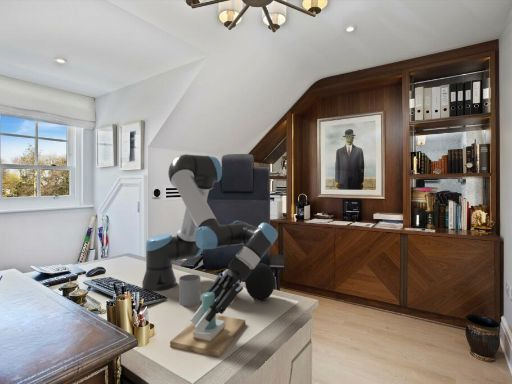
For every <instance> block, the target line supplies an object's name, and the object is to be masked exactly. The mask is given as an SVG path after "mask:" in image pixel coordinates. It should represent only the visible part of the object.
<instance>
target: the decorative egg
mask: <svg viewBox="0 0 512 384" xmlns="http://www.w3.org/2000/svg"><path fill="white" fill-rule="evenodd" d="M251 270H252V271H251V274H250V275H249V276H248V278H247V279H246V280H244V282H245V289H246V292H247V293H248V295H249V296H250V297H251V298H252V299H253V300H255V301H265V300H266V299H268V298H270V297H271V295H272V293H274V290H275V286H276V279H275V278H276V277H275V274H274V272H273V270H272V268H271V267H270V266H269V265H268V264H265V263H263V262H259V263H258V264H257V265H256V267H255V268H254V269H251Z"/></svg>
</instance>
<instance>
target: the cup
mask: <svg viewBox="0 0 512 384" xmlns="http://www.w3.org/2000/svg"><path fill="white" fill-rule="evenodd" d="M178 282H179V283H178V285H179V286H178V287H179V288H178V289H179V290H178V293H179V295H178V296H179V297H178V299H179V301H178V302H179V305H180V306H183V307H193V306H197V305H200V303H202V298H201V276H200V275H199V274H191V273H190V274H184V275H182V276H180V277H179V278H178Z"/></svg>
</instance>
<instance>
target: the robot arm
mask: <svg viewBox="0 0 512 384" xmlns="http://www.w3.org/2000/svg"><path fill="white" fill-rule="evenodd" d="M167 175H168V179H169V182H170V184H171V186H172V187H174V188H175V189H176V190H177V192H178V193H179V196H180V198H181V199H182V202H183V203H184V206H185V211H184V215H183V220H182V224H181V228H180V229H178V230H177V233H176V235H175V236H173V235H172V234H170V233H165V234H156V235H154V236H151V237H149V238H148V239H147V240H146V243H145V244H146V245H145V260H146V262H145V265H146V266H145V267H146V269H145V272H144V275H143V280H142V283H141V284H142V285H141V286H142V289H143V288H144V289H143V290H145V289H147V290H146V291H149V290H150V292H151V291H152V292H159V291H164V290H165V291H166V290H169V289H172V288H174V287H175V286H176V285H177V279H176V276H175V273H174V270H173V262H176V261H182V260H183V261H184V260H188V259H194V258H197V257H199V256H200V255H201V254H202V253H203V250H214V249H218V248H224V247H231V246H238V245H243V246H241V248H240V249H239V250H238V252H237V253H236V254H235V256H236V257H233V258H232V259H231V260H230V262H229V263H228V265H227V267H228V269H229V270H228V271H227V272H226V273H225V274H222V273H223V272H219V273H218V275H217V277H216V278H215V280H214V281H213V283H212V284H211V285H210V287H209V288H208V289H207V291H206V292H213V293H215V303H214V305H213V306H210V307H209V309H208V310H207V311H206V313H205V314H204V315H203V313H202V304H200V306H199V307H198V308H197V310H195V311H196V312H195V313H194V314H193V315H192V316H191V318H190V319H189V321H190V323H194V324H195V325H196V326H195V327H196V328H197V329H198V330H200V331H201V332H203V330H204V329H205V328H206V326H207V325H208V324H209V322H210V321H211V320H212V319H213V318H214V316H215V315H217V314H221V315H223V314H224V313H225V311H226V310H227V308H228V307H229V306H230V305H231V304H230V303H231V302H232V301H233V299H234V298H235V297H236V296H237V297H238V294H239V293H240V292H242V291H243V290H244V287H243V286H242V285H241V283H242V281H243V280H244V281H245V280H246V279H247V278H248V276H249V275H250V274H251V271H252V270H251V269H254V268H255V267H256V265H257V264H258V263H260V261H261V260H262V259H263V257H264V256H265V255H266V254H267V252H268V251H269V250H270V248H271V247H272V246H273V245H274V243H275V242H276V240H277V238H278V236H279V234H278V231H277V230H276V228H274V227H273V226H272V225H271V224H269V223H267V222H261V223H260V224H259V225H258V226H255V225H252V224H250V223H247V222H245V221H242V220H234V221H233V222H231V223H230V224H220V222H219V221H218V219H217V217H216V216H215V214H214V213H213V210H212V209H211V207H210V206H209V204H208V202H207V201H208V196H209V192H210V190H212V189H214V185H215V183H218V182H220V181H221V180H222V176H223V168H222V164H221V162H220V160H219V158H217V157H215V156H211V155H198V154H196V155H195V154H187V153H185V154H180V155H179V156H176V157H175V158H174V159H173V160H172V161H171V163H170V164H169V167H168V174H167ZM237 297H236V298H237ZM236 298H235V299H236ZM233 302H234V301H233Z"/></svg>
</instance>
